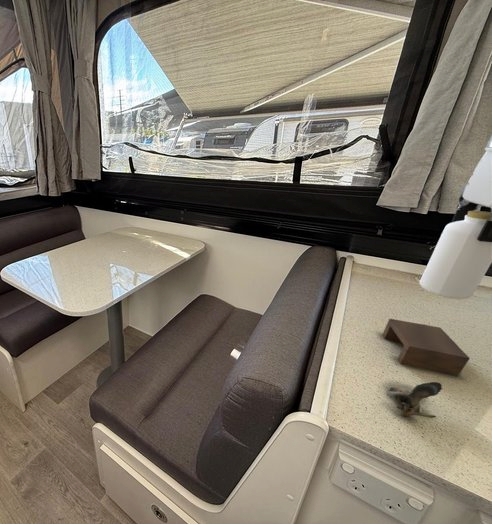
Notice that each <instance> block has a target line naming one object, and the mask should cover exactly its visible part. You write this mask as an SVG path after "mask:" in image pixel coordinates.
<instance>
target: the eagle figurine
mask: <svg viewBox="0 0 492 524" xmlns="http://www.w3.org/2000/svg"><path fill="white" fill-rule="evenodd" d="M442 387H443V385H442V383H441V382H438V381H431V382H425V383H420V384H417V385H416V386H414V387H413V389H412V390H410V391H409V390H407V389H406V388H401V387H396V386H395V387H393V386H391V387H390V388H389V390H388V391H387V392H386V393H385V394H386V396H387V397H394V398H398V399H399V402H400V406H396V409H398V410H400V411H401V413H400V416H402V417H405V418H406V417H410V416H419V417H424V418H428V419H434V418H437V416H436V415H435V414H429V413H424V412H423V411H424V410H423V409H422V407H421V405H420V402H421V401H422V400H424V399H428V398H429V397H435V396H437V395H438V394H439V393H440V392H441V391H442V390H443V388H442Z"/></svg>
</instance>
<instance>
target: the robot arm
mask: <svg viewBox="0 0 492 524" xmlns="http://www.w3.org/2000/svg"><path fill="white" fill-rule="evenodd" d="M484 151H485V152H484V154H483V155H482V157H481V158H480V160H479V162H478V163H477V165H476V166H475V168H474V170H473V171H472V174H471V176H470V178H469V179H468V182H467V183H466V185H464V186H462V187H461V189H460V196H459V198H458V204H457V206H456V211H455V212H454V215H453V217H452V219H451V222H450V223H452V222H456V221H463V220H465V215H468V211H478V209H479V208H481V206H482V207H485V208H490V212H491V220H487V221H486V223H485V224H484V226H483V228H482V230H481V232H480V234H479V236H478V238H477V240H478V241H482V242H492V134H491V136H490V137H489V140H488V142H487V144H486V147H485V148H484Z"/></svg>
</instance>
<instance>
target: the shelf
mask: <svg viewBox="0 0 492 524" xmlns="http://www.w3.org/2000/svg"><path fill="white" fill-rule="evenodd" d="M381 336H382V337H383V339H384V340H389V341H393V342H399V343H402V345H403V346H402V349H401V351H400V353H399V355H398V357H397V361H398V363H399V364H400V365H401V366H402V365H403V366H408V367H412V368H415V369H416V368H417V369H420V370H426V371H429V372H435V373H439V374H443V375H447V376H452V377H456V378H459V375H460V374H461V372H462V371H463V369H464V368H465V367H466V365H467V363H468V362H469V360H470V359H471V357H469V356H468V354H466V353H465V352H464V350H463V349H461V347H459V345H458V344H457V343H456V342H455V341H454V340H453V339H452V338H451V337H450V335H448V334H447V333H446V332H445V331H444V330H443V328H442V327H440V326H433V325H428V324H424V323H423V324H422V323H416V322H411V321H406V320H401V319H394V318H389V319H388V321H387V323H386V325H385V328H384V330H383V332H382V334H381Z"/></svg>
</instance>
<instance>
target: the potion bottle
mask: <svg viewBox="0 0 492 524" xmlns="http://www.w3.org/2000/svg"><path fill="white" fill-rule="evenodd" d="M487 220H491V211H483V210H474V211H468V215H465V220H463V221H456V222H452V223H451V222H449V223H447V224H446V225H445V227H444V229H443V230H442V232H441V234H440V237H439V239H438V241H437V243H436V245H435V248H434V250H433V251H432V254H431V256H430V258H429V260H428V263H427V265H426V267H425V269H424V271H423V274H422V275H421V277H420V280H419V283H418V284H419V286H420V287H421V288H422V289H423V290H425V291H426V292H429V293H430V294H433V295H436V296H438V297H441V298H447V299H451V300H467V299H470V298H472V297H473V296H474V294H475V292H476V291H477V289H478V287H479V285H480V284H481V282H482V280H483V279H484V277H485V276H486V273H487V271H488V270H489V268H490V266H491V265H492V242H482V241H478V240H477V238H478V236H479V234H480V232H481V230H482V228H483V226H484V224H485V223H486V221H487Z"/></svg>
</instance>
